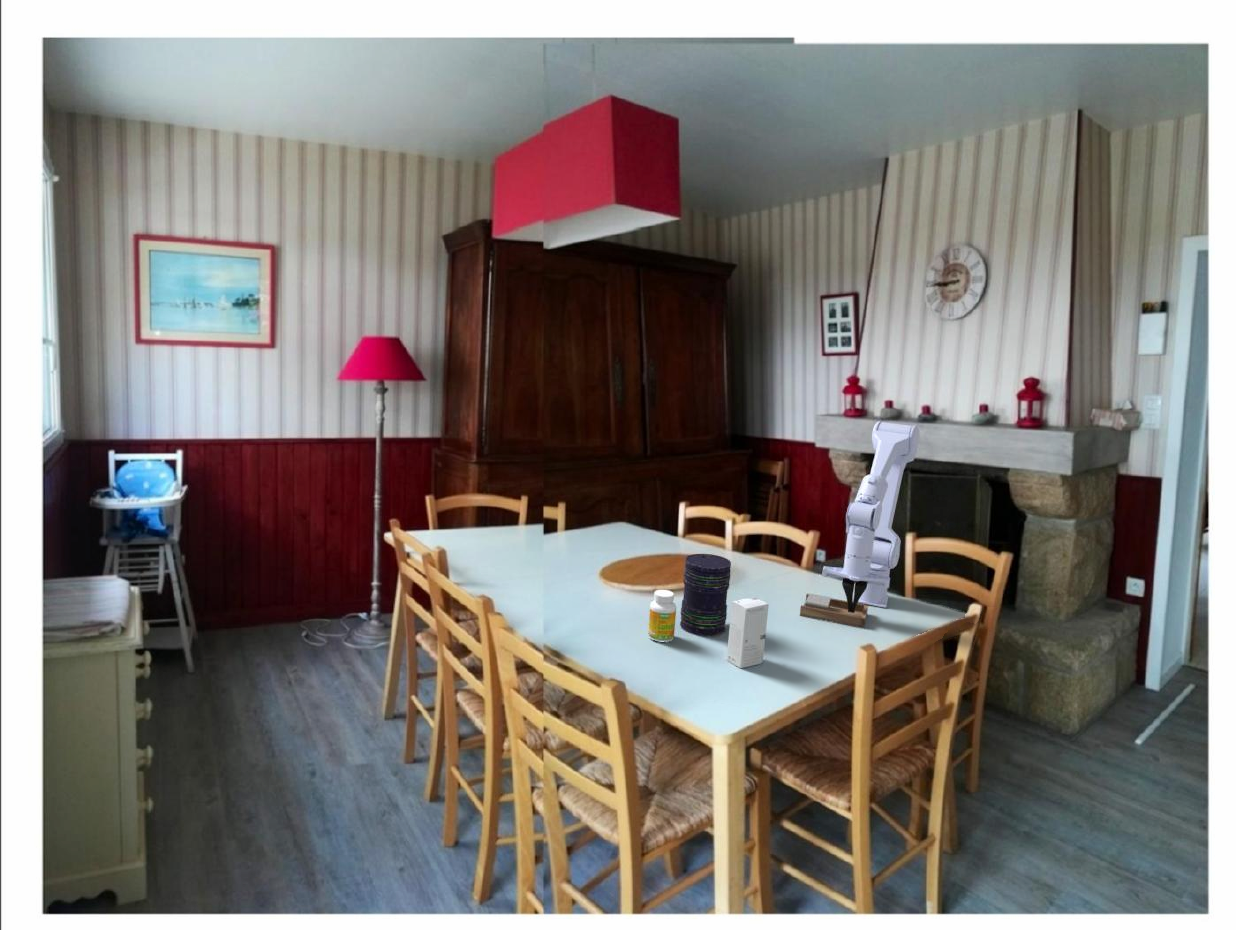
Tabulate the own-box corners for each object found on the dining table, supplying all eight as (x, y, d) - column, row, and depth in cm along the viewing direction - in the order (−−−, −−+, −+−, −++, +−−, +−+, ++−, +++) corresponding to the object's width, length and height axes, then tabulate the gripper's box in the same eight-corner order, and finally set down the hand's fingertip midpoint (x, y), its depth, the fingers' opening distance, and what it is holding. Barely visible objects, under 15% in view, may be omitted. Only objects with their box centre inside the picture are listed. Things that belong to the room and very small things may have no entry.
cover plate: (808, 603, 172) (809, 593, 172) (829, 607, 170) (831, 597, 170) (804, 611, 167) (805, 601, 166) (826, 616, 165) (828, 605, 164)
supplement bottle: (656, 645, 145) (659, 599, 143) (643, 634, 150) (646, 590, 148) (678, 641, 148) (682, 596, 146) (665, 631, 152) (668, 587, 151)
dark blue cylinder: (732, 635, 152) (738, 568, 149) (688, 637, 150) (693, 568, 147) (715, 617, 161) (721, 553, 159) (673, 618, 159) (678, 553, 156)
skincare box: (740, 669, 137) (746, 609, 134) (725, 660, 140) (730, 601, 138) (764, 663, 140) (770, 604, 138) (748, 653, 144) (754, 596, 142)
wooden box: (805, 602, 174) (806, 593, 174) (867, 614, 169) (868, 605, 169) (799, 615, 166) (800, 606, 165) (863, 628, 160) (865, 619, 160)
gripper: (823, 553, 162) (816, 610, 165) (891, 564, 157) (883, 623, 159) (827, 545, 169) (820, 600, 171) (893, 556, 163) (885, 613, 166)
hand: (851, 611), depth 166 cm, fingers closed
